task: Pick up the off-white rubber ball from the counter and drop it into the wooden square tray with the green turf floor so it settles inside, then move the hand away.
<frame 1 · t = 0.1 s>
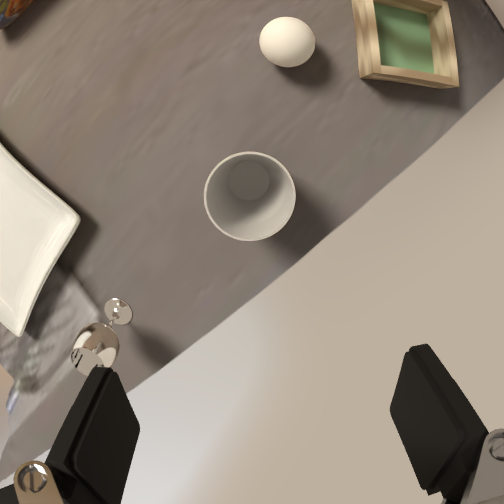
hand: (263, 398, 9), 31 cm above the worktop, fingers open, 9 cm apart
wooden square tray: (398, 40, 31), on the worktop
cup: (248, 180, 38), on the worktop
ball: (287, 41, 29), point 3 cm above the worktop
wineglass: (118, 310, 44), on the worktop
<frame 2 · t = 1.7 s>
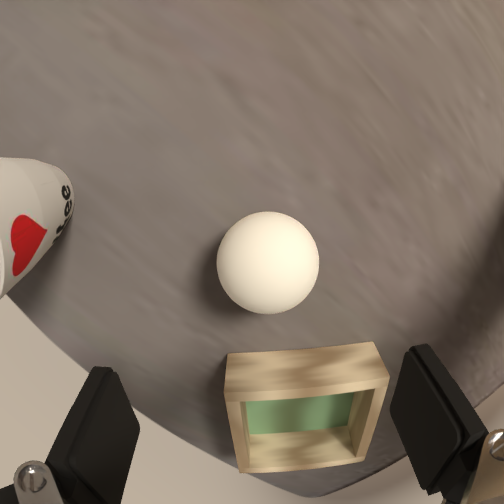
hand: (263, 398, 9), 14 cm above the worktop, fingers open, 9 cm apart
wooden square tray: (300, 398, 27), on the worktop
cup: (49, 196, 21), on the worktop
ball: (267, 262, 19), point 3 cm above the worktop
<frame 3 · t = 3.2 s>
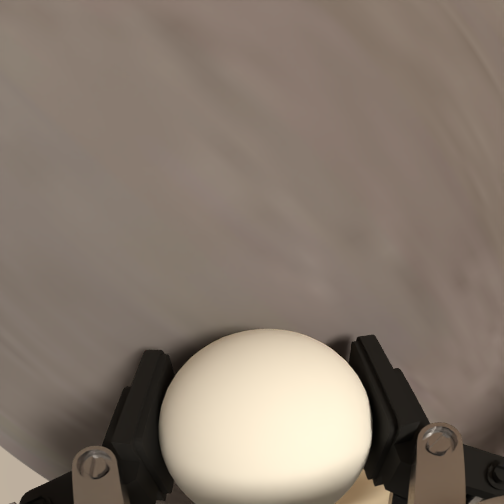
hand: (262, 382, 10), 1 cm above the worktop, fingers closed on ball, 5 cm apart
ball: (265, 430, 8), point 3 cm above the worktop, touching gripper
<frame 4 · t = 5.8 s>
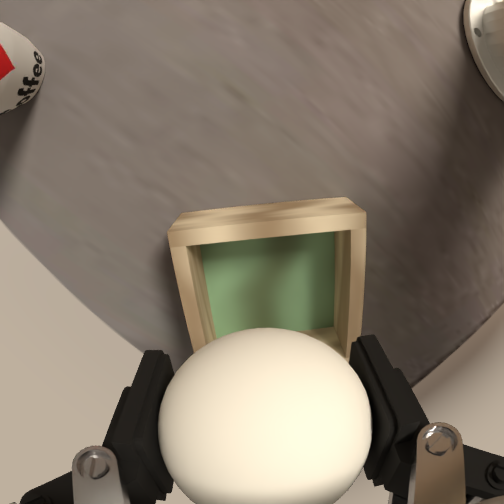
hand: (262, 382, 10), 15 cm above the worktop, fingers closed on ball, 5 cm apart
wooden square tray: (271, 279, 25), on the worktop
cup: (24, 76, 19), on the worktop
ball: (265, 429, 8), point 17 cm above the worktop, touching gripper
when the fingers open (6 cm above the worktop, at t = 8.2 s): ball drops 5 cm, resting on wooden square tray.
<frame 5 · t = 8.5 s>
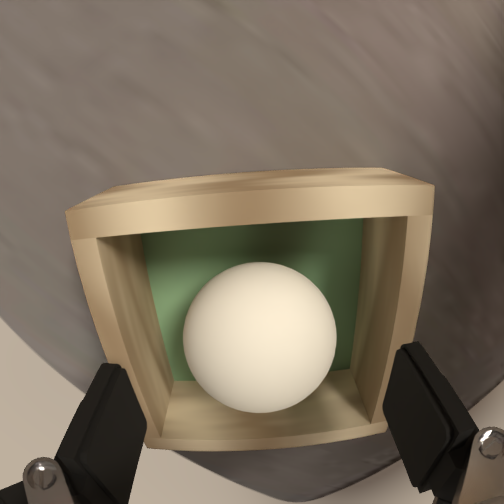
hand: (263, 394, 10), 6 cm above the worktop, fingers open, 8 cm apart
wooden square tray: (256, 299, 16), on the worktop
ball: (259, 338, 13), point 3 cm above the worktop, touching wooden square tray
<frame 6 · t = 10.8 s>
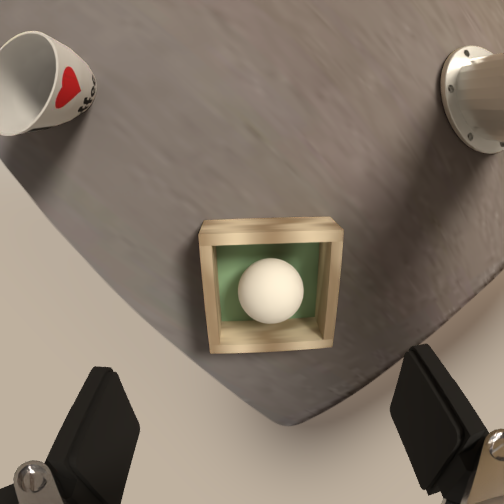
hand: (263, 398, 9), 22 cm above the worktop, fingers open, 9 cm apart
wooden square tray: (268, 276, 33), on the worktop
cup: (75, 91, 25), on the worktop
ball: (270, 291, 30), point 3 cm above the worktop, touching wooden square tray
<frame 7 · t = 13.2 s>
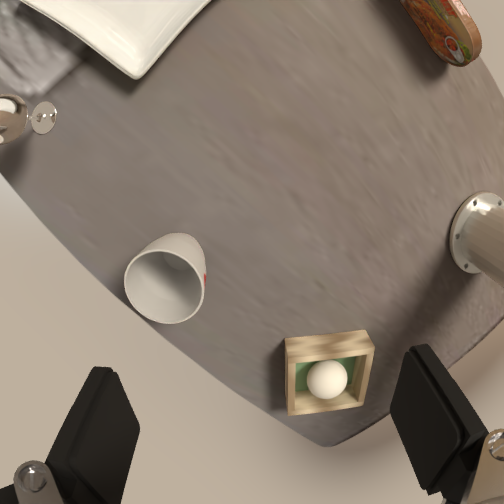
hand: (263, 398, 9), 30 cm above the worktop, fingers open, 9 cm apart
wooden square tray: (323, 365, 47), on the worktop
cup: (181, 251, 40), on the worktop
ball: (327, 379, 44), point 3 cm above the worktop, touching wooden square tray
wineglass: (44, 117, 33), on the worktop
tin: (421, 19, 29), on the worktop
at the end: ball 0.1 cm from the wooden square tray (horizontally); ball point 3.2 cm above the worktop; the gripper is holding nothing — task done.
